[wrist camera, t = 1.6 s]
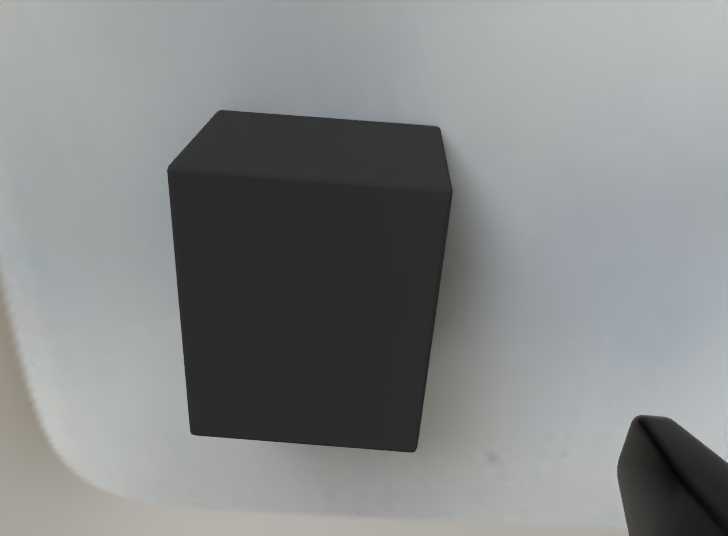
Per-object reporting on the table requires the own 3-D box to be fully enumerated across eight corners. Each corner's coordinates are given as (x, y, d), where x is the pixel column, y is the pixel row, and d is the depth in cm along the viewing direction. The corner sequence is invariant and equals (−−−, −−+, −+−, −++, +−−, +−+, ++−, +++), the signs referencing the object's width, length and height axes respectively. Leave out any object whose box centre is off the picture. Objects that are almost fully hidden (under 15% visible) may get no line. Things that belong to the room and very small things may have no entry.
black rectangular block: (413, 352, 14) (416, 455, 11) (228, 338, 14) (188, 437, 11) (440, 125, 12) (453, 188, 9) (217, 108, 12) (164, 165, 9)
